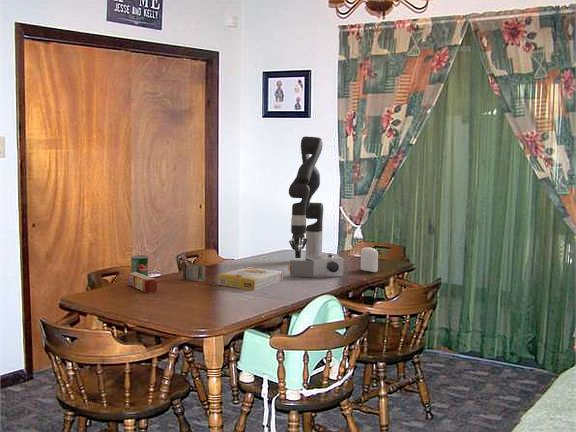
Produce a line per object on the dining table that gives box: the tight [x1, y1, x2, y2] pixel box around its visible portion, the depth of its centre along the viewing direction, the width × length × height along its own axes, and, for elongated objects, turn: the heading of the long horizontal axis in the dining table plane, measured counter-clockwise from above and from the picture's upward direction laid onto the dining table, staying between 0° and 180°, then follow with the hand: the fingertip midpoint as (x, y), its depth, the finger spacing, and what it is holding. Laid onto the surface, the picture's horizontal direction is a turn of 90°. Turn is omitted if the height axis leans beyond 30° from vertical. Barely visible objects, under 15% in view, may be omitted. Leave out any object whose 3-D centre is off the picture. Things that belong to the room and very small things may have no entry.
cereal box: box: [216, 266, 284, 291], centre depth 339 cm, size 20×6×28 cm
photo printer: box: [360, 246, 379, 273], centre depth 377 cm, size 10×4×12 cm, turn 39°
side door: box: [287, 259, 314, 278], centre depth 356 cm, size 12×2×8 cm, turn 78°
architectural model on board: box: [182, 260, 206, 282], centre depth 344 cm, size 11×3×10 cm, turn 63°
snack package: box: [126, 272, 158, 294], centre depth 321 cm, size 21×7×7 cm, turn 34°
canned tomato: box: [130, 254, 149, 277], centre depth 343 cm, size 8×8×11 cm
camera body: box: [306, 253, 345, 278], centre depth 363 cm, size 14×16×10 cm
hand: (297, 257), depth 361 cm, fingers closed
